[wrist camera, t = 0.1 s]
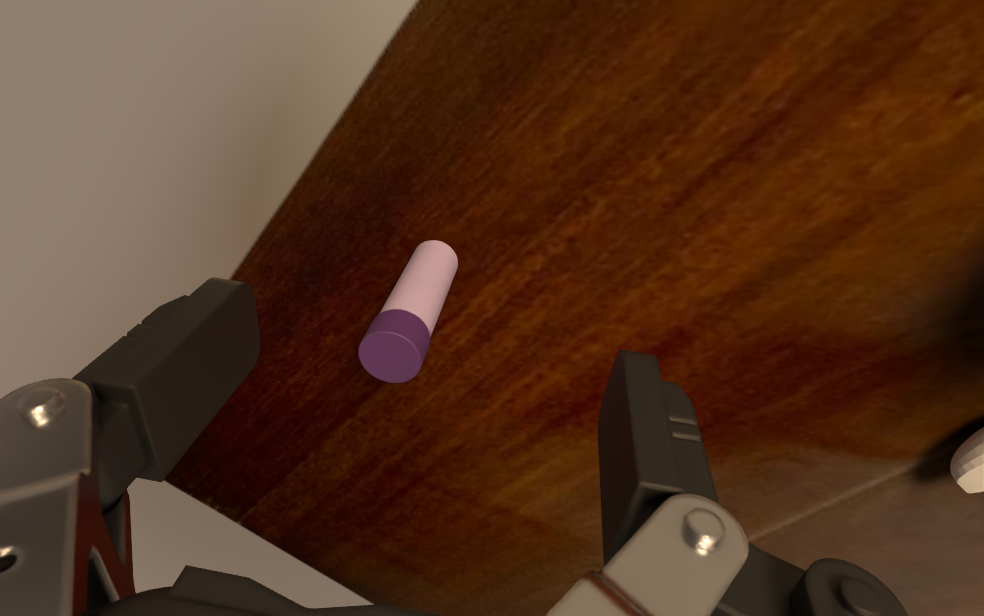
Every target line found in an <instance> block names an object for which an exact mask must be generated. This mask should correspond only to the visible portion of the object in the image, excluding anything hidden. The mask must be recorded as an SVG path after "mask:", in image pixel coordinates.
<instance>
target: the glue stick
mask: <svg viewBox="0 0 984 616" xmlns="http://www.w3.org/2000/svg"><path fill="white" fill-rule="evenodd" d="M457 267H458V259H457V256H456V254H455V252H454V251H453V249H452V248H451V247H450V246H448V245H447V244H445V243H443V242H441V241H436V240H431V241H426V242H423V243H422V244H420V245H419V246H418V247H417V248H416V250H415V251H414V253H413V255H412V257H411V258H410V260H409V262H408V264H407V266H406V267H405V269H404V271H403V273H402V275H401V276H400V278H399V280H398V282H397V283H396V285H395V287H394V289H393V291H392V292H391V294H390V296H389V298H388V299H387V301H386V303H385V305H384V307H383V308H382V310H381V312H380V314H379V315H377V316H376V317H375V319H374V320H373V322H372V324H371V325H370V327H369V329H368V331H367V332H366V334H365V336H364V338H363V339H362V341H361V343H360V345H359V358H360V361H361V363H362V365H363V367H364V368H365V369H366V370H367V371H368V372H369V373H370V374H371V375H373V376H374V377H376V378H377V379H380V380H382V381H385V382H390V383H402V382H406V381H408V380H410V379H412V378H413V377H415V376H416V375H417V374H418V372H419V370H420V368H421V366H422V363H423V360H424V358H425V355H426V353H427V350H428V347H429V345H430V337H431V334H432V332H433V329H434V326H435V324H436V321H437V319H438V316H439V314H440V311H441V309H442V306H443V303H444V301H445V298H446V296H447V293H448V291H449V288H450V285H451V283H452V280H453V278H454V275H455V273H456V270H457Z"/></svg>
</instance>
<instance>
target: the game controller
mask: <svg viewBox="0 0 984 616" xmlns="http://www.w3.org/2000/svg"><path fill="white" fill-rule="evenodd" d="M950 470H951V474H952V475H953V477H954V479H955V481H956V482H957V483H958V484H959V485H960V486H961V487H962V488H963V489H964V490H965V491H966V492H967V493H976V492H982V491H984V427H983V428H981V429H980V430H978V431H977V432H975V433H974V434H973V435H972V436H970V437H969V438H968V439H967V440H966V441H965V442H964V443H963V444H962V445H961V446H960V447H959V448H958V449H957V451H956V452H955V454H954V456H953V458H952V460H951V465H950Z"/></svg>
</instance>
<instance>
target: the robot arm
mask: <svg viewBox="0 0 984 616" xmlns="http://www.w3.org/2000/svg"><path fill="white" fill-rule="evenodd" d="M259 351H260V334H259V327H258V319H257V312H256V305H255V297H254V291H253V288H252V287H251V285H250V284H248V283H244V282H238V281H232V280H226V279H220V278H215V277H214V278H210V279H209V280H207V281H206V282H205V283H204V284H203V285H201V286H200V287H199V288H198V289H197V290H195V291H194V292H193V293H192V294H191V295H190V296H185V295H184V296H182V297H180V298H178V299H175V300H173V301H170V302H168V303H166V304H164V305H162V306H159V307H158V308H157V309H156V310H155V311H153V312H152V313H151V314H150V315H149V316H147V317H146V318H145V319H144V320H142V324H138V325H137V326H135V327H134V328H133V329H132V330H130V331H129V332H128V333H127V336H123V337H122V338H121V339H119V340H118V341H117V342H116V343H114V344H113V345H112V346H111V347H110V348H108V349H107V350H106V351H105V352H103V353H102V354H101V355H100V356H99V357H97V358H96V359H95V360H94V361H93V362H91V363H90V364H89V365H88V366H87V367H85V368H84V369H83V370H82V371H81V372H79V373H78V374H77V375H76V376H74V377H73V378H72V379H65V378H58V379H49V380H43V381H39V382H34V383H32V384H28V385H26V386H23V387H21V388H18V389H16V390H14V391H12V392H11V393H9V394H7V395H6V396H4V397H3V398H1V399H0V616H438V615H433V614H428V613H423V612H418V611H413V610H408V609H403V608H398V607H393V606H388V605H383V604H378V605H363V606H348V607H332V608H318V609H317V608H316V609H311V608H306V607H303V606H301V605H299V604H297V603H295V602H293V601H292V600H290V599H288V598H286V597H284V596H282V595H280V594H278V593H277V592H274V591H273V590H271V589H269V588H267V587H265V586H263V585H262V584H260V583H258V582H256V581H254V580H252V579H250V578H247V577H242V576H237V575H232V574H227V573H222V572H217V571H212V570H207V569H202V568H197V567H192V566H187V565H186V566H185V568H184V570H183V571H182V572H181V574H180V576H179V577H178V579H177V580H176V582H175V583H174V585H173V586H172V587H163V588H158V589H152V590H147V591H144V592H140V593H137V594H136V593H135V587H134V582H133V581H134V580H133V563H132V542H131V521H130V499H129V494H128V492H127V488H128V486H129V485H130V484H131V483H132V482H133V481H134V480H135V478H136V477H137V478H142V479H147V480H153V481H158V482H162V481H163V480H164V479H165V477H166V476H167V475H168V474H169V472H170V471H171V470H172V469H173V467H174V466H175V465H176V464H177V462H178V461H179V460H180V459H181V457H182V456H183V455H184V454H185V452H186V451H187V450H188V449H189V447H190V446H191V445H192V444H193V442H194V441H195V440H196V439H197V437H198V436H199V435H200V434H201V432H202V431H203V430H204V429H205V427H206V426H207V425H208V424H209V422H210V421H211V420H212V419H213V417H214V416H215V415H216V414H217V412H218V411H219V410H220V409H221V407H222V406H223V405H224V404H225V402H226V401H227V400H228V399H229V397H230V396H231V395H232V394H233V392H234V391H235V390H236V389H237V387H238V386H239V385H240V384H241V382H242V381H243V380H244V379H245V377H246V376H247V375H248V374H249V372H250V371H251V370H252V369H253V367H254V365H255V364H256V361H257V359H258V356H259ZM598 446H599V468H600V490H601V511H602V533H603V554H604V568H603V569H602V570H601V571H600V572H598V573H596V572H595V571H593V570H592V571H589V572H588V573H586V574H585V575H584V576H583V577H582V578H580V579H579V580H578V581H577V583H576V584H575V585H574V586H573V587H572V588H571V589H570V590H569V591H568V592H567V593H566V594H565V595H564V596H563V597H562V598H561V599H560V601H559V602H558V603H557V604H556V605H555V606H554V607H553V608H552V609H551V610H550V611H549V612H548V613H547V614H546V615H545V616H908V615H907V613H906V611H905V609H904V607H903V606H902V604H901V603H900V601H899V600H898V599H897V597H896V596H895V595H894V594H893V593H892V592H891V590H890V589H889V588H887V587H886V586H885V585H884V584H883V583H882V582H881V581H880V580H879V579H877V578H876V577H875V576H873V575H872V574H870V573H869V572H867V571H866V570H864V569H862V568H860V567H859V566H857V565H854V564H852V563H850V562H847V561H843V560H839V559H833V558H825V559H820V560H818V561H815V562H814V563H813V564H811V565H810V566H809V568H808V569H807V570H806V571H805V570H803V569H800V568H798V567H796V566H794V565H792V564H790V563H788V562H785V561H783V560H781V559H779V558H777V557H775V556H773V555H770V554H768V553H766V552H764V551H762V550H760V549H759V548H757V547H755V546H754V545H752V544H751V543H749V542H748V540H747V537H746V534H745V532H744V530H743V528H742V527H741V525H740V524H739V522H738V521H737V520H736V519H735V517H734V516H733V515H732V514H731V513H730V512H728V511H727V510H726V509H725V508H723V507H722V506H721V505H719V502H718V498H717V494H716V491H715V487H714V483H713V479H712V476H711V472H710V468H709V464H708V460H707V457H706V453H705V449H704V445H703V442H701V434H700V430H699V426H697V419H696V415H695V411H694V407H693V404H692V402H691V400H690V399H689V398H688V396H687V395H686V394H685V393H684V391H683V390H682V389H681V387H680V386H679V385H678V384H677V383H671V382H665V381H662V380H661V375H660V370H659V365H658V360H657V357H656V356H655V355H650V354H644V353H638V352H632V351H627V350H621V349H620V350H619V351H618V353H617V356H616V358H615V362H614V365H613V368H612V371H611V375H610V378H609V381H608V384H607V388H606V391H605V394H604V397H603V401H602V404H601V408H600V413H599V421H598Z"/></svg>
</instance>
